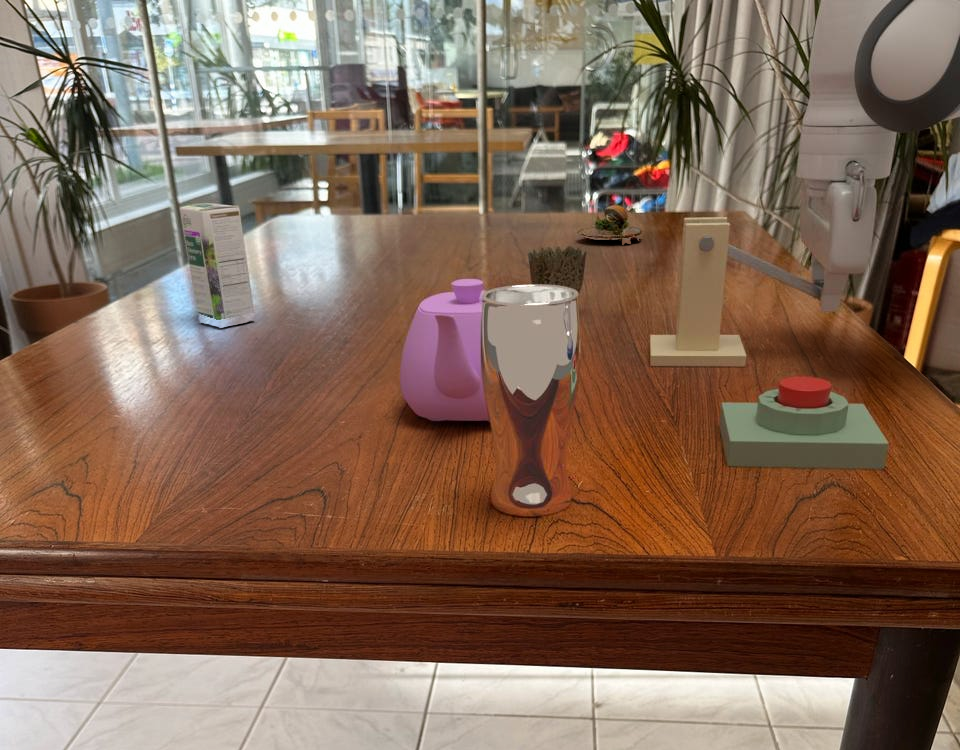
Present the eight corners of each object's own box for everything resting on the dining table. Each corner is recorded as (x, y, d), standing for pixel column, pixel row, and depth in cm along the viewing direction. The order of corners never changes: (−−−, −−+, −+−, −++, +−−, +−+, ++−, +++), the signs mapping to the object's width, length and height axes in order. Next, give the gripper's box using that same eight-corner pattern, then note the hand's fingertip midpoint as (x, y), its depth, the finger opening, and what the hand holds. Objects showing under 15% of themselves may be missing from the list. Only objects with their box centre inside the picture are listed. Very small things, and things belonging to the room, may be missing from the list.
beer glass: (500, 525, 67) (494, 308, 60) (474, 490, 73) (466, 288, 65) (591, 512, 69) (597, 298, 61) (559, 479, 75) (561, 280, 67)
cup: (520, 312, 126) (519, 248, 122) (572, 306, 128) (573, 243, 123) (540, 323, 120) (540, 256, 116) (593, 318, 121) (595, 251, 117)
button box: (859, 428, 82) (867, 382, 80) (884, 470, 74) (893, 420, 72) (718, 426, 84) (723, 381, 82) (727, 467, 76) (732, 418, 73)
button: (823, 397, 78) (827, 376, 78) (831, 412, 75) (835, 390, 74) (774, 397, 79) (776, 376, 78) (780, 411, 76) (782, 390, 75)
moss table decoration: (570, 238, 178) (570, 195, 174) (630, 234, 179) (632, 191, 175) (587, 248, 168) (588, 202, 164) (651, 244, 169) (653, 198, 165)
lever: (820, 303, 102) (832, 282, 101) (827, 314, 98) (841, 292, 96) (686, 241, 101) (697, 218, 99) (688, 249, 97) (699, 225, 95)
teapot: (425, 381, 99) (417, 263, 93) (550, 383, 97) (551, 262, 91) (375, 447, 83) (361, 307, 76) (526, 450, 80) (524, 308, 74)
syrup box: (197, 323, 127) (175, 206, 119) (235, 315, 130) (216, 201, 123) (220, 330, 123) (199, 209, 116) (258, 321, 127) (240, 203, 119)
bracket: (738, 345, 107) (752, 213, 100) (745, 366, 100) (761, 226, 93) (649, 345, 109) (657, 215, 102) (649, 366, 101) (658, 227, 94)
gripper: (902, 166, 83) (875, 326, 90) (858, 148, 100) (838, 284, 108) (828, 168, 84) (806, 327, 91) (797, 150, 101) (781, 285, 109)
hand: (823, 303), depth 100 cm, fingers closed on lever, 5 cm apart
